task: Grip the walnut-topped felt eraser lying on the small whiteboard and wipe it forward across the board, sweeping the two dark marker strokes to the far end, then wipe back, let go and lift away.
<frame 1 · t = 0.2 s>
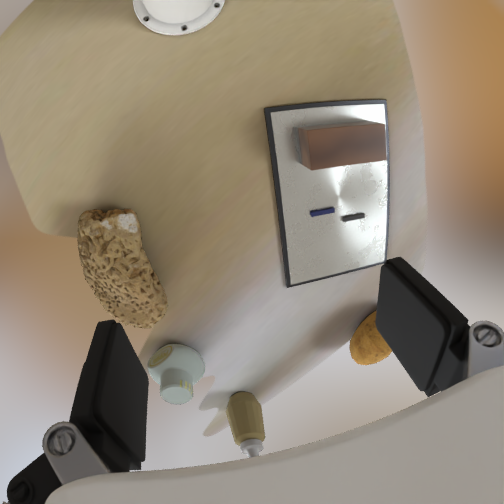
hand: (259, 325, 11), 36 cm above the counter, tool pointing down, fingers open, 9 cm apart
squeeze bottle: (241, 397, 68), on the counter
air freshener: (176, 355, 58), on the counter
whiteboard: (336, 195, 49), on the counter
stroke navy: (322, 211, 49), point 1 cm above the counter, touching whiteboard
potato: (366, 323, 64), on the counter
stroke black: (353, 216, 50), point 1 cm above the counter, touching whiteboard
sponge: (127, 262, 48), on the counter
eraser: (335, 140, 44), point 1 cm above the counter, touching whiteboard
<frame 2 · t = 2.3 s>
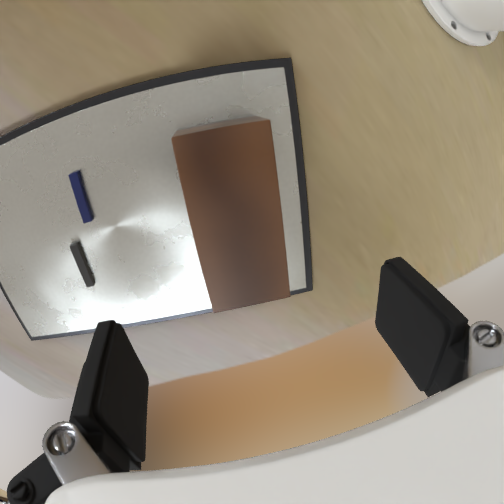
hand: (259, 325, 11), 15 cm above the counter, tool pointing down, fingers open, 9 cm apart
whiteboard: (118, 222, 23), on the counter
stroke navy: (81, 196, 21), point 1 cm above the counter, touching whiteboard
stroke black: (83, 263, 23), point 1 cm above the counter, touching whiteboard
eraser: (230, 200, 23), point 1 cm above the counter, touching whiteboard
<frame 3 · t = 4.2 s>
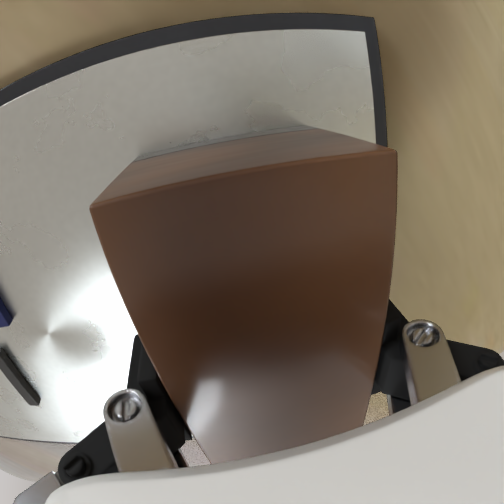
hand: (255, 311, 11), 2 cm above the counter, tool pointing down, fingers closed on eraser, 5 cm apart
whiteboard: (54, 322, 12), on the counter
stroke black: (17, 375, 12), point 1 cm above the counter, touching whiteboard
eraser: (250, 296, 12), point 1 cm above the counter, touching gripper, whiteboard
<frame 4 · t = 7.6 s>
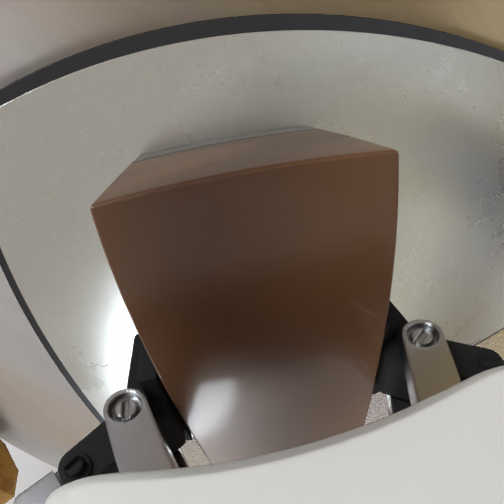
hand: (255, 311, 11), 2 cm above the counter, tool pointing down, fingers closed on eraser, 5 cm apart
whiteboard: (359, 260, 13), on the counter
eraser: (251, 297, 12), point 1 cm above the counter, touching gripper
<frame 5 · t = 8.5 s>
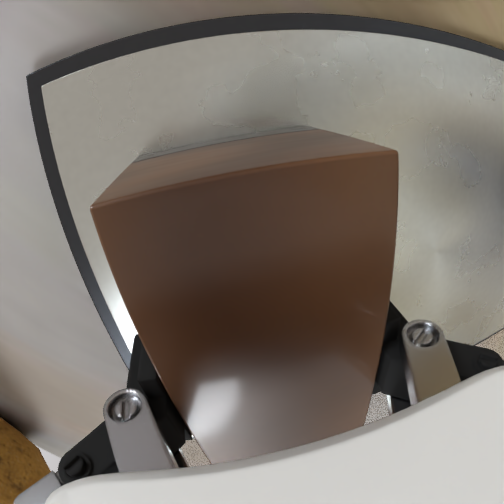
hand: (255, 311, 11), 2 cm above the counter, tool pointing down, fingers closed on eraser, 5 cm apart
whiteboard: (426, 243, 14), on the counter
eraser: (250, 297, 12), point 1 cm above the counter, touching gripper, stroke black, whiteboard
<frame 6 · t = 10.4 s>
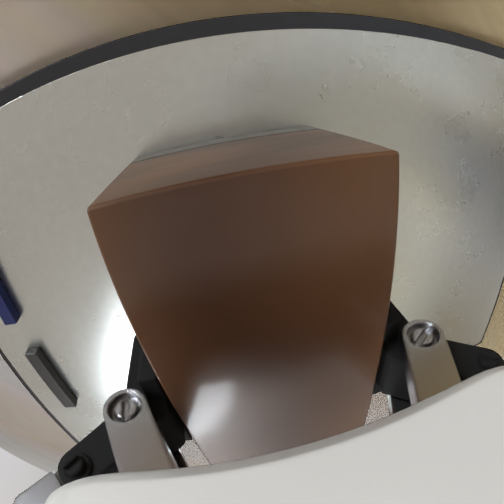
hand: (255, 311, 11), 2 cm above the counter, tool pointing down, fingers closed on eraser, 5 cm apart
whiteboard: (285, 278, 13), on the counter
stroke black: (53, 376, 12), point 1 cm above the counter, touching whiteboard
eraser: (251, 298, 12), point 1 cm above the counter, touching gripper
when the fingers open (2 cm above the counter, at t = 11.7 s): eraser stays where it is, resting on whiteboard.
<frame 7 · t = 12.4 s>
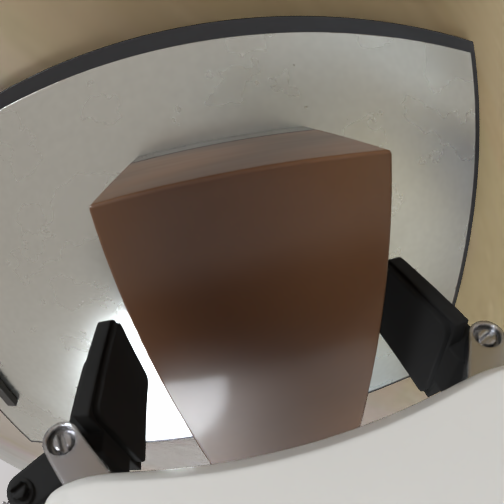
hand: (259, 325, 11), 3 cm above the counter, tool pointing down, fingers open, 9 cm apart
whiteboard: (172, 301, 13), on the counter
eraser: (248, 296, 12), point 1 cm above the counter, touching whiteboard
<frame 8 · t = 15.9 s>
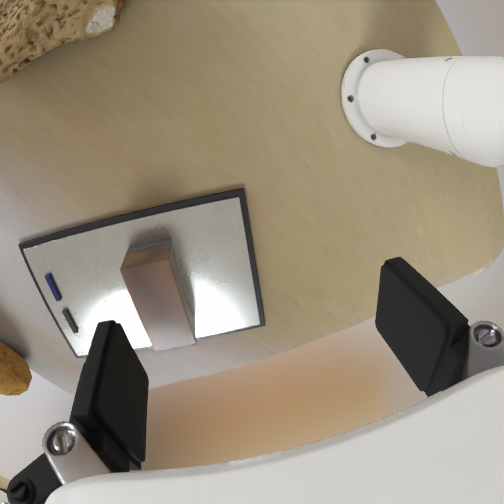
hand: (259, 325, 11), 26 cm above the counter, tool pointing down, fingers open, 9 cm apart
whiteboard: (141, 287, 39), on the counter
stroke navy: (53, 286, 35), point 1 cm above the counter, touching whiteboard
potato: (5, 348, 39), on the counter
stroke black: (70, 320, 38), point 1 cm above the counter, touching whiteboard
sponge: (47, 27, 22), on the counter
eraser: (162, 286, 38), point 1 cm above the counter, touching whiteboard
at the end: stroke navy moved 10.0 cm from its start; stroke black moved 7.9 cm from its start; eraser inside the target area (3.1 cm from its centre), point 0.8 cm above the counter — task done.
